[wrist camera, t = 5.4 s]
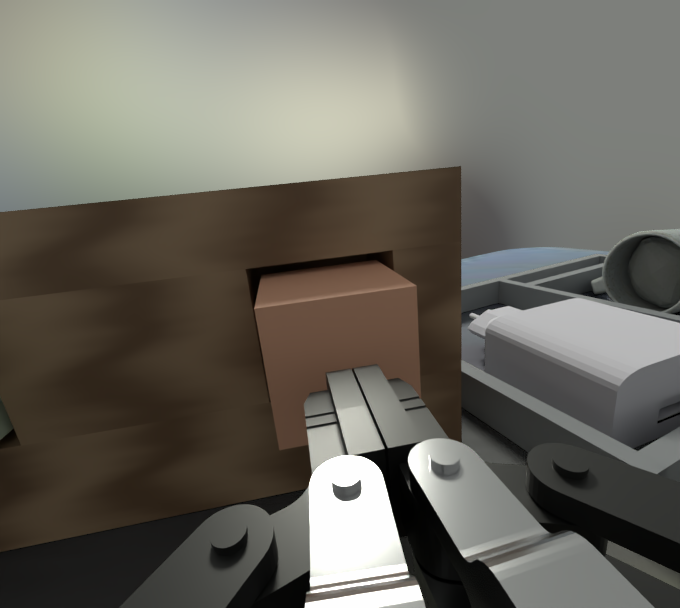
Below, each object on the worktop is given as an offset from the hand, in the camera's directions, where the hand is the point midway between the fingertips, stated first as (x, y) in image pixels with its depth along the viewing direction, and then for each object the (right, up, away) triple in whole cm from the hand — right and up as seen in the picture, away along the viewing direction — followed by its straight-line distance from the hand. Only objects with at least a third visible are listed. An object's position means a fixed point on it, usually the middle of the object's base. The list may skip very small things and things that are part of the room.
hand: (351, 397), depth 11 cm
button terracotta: (0, -1, +4) cm, 5 cm away
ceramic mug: (+30, +2, +25) cm, 39 cm away
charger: (+15, -3, +15) cm, 21 cm away
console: (-9, -6, +10) cm, 15 cm away
